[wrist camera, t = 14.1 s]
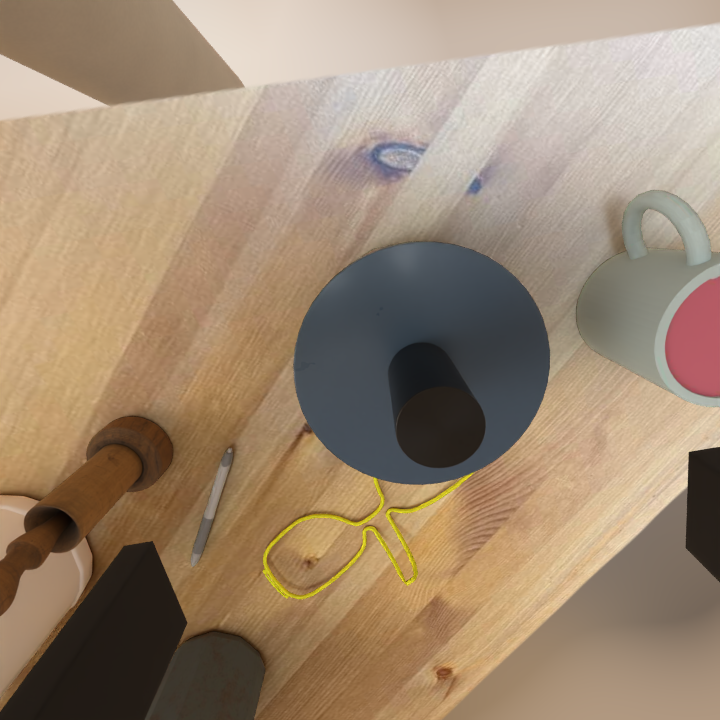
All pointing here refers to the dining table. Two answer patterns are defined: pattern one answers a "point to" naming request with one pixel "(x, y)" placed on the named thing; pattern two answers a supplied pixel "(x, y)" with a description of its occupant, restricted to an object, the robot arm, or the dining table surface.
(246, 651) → the bottle
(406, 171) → the dining table surface
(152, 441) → the mortar and pestle
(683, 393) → the mug
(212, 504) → the pen
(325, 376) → the lid
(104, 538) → the dining table surface
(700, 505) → the robot arm
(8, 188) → the dining table surface
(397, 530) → the glasses
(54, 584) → the bottle
